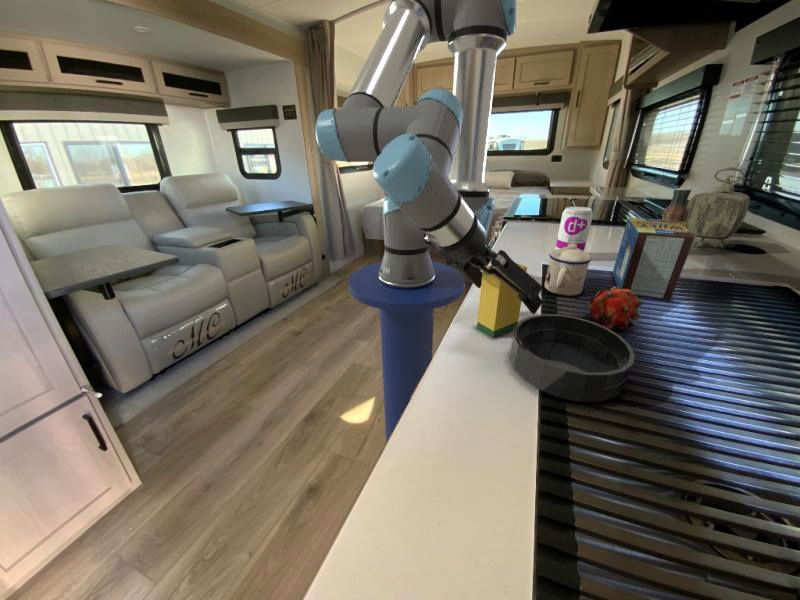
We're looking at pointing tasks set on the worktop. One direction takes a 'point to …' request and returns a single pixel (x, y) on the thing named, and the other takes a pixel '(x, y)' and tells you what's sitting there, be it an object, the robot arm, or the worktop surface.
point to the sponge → (497, 305)
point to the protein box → (652, 257)
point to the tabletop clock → (717, 211)
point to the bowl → (571, 357)
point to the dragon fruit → (615, 308)
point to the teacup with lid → (567, 270)
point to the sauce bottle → (678, 206)
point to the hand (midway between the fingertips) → (507, 294)
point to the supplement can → (574, 227)
